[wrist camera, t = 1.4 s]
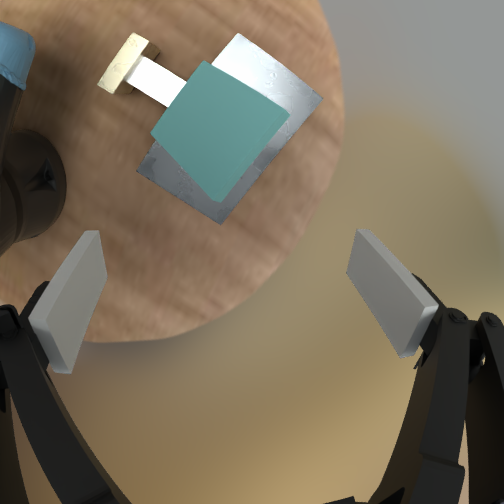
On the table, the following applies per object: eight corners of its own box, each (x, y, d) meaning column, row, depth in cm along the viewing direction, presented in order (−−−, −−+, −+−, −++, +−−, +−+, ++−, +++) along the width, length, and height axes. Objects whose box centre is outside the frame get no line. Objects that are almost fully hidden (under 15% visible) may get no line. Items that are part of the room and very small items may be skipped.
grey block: (152, 155, 34) (136, 171, 27) (233, 46, 29) (238, 33, 22) (220, 199, 38) (220, 225, 31) (301, 97, 33) (323, 98, 26)
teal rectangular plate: (157, 136, 26) (150, 133, 25) (210, 65, 23) (203, 60, 22) (221, 202, 22) (212, 200, 21) (290, 115, 20) (284, 109, 19)
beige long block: (116, 85, 28) (97, 84, 23) (146, 42, 26) (132, 32, 21) (219, 152, 34) (219, 163, 28) (252, 110, 32) (258, 113, 26)
